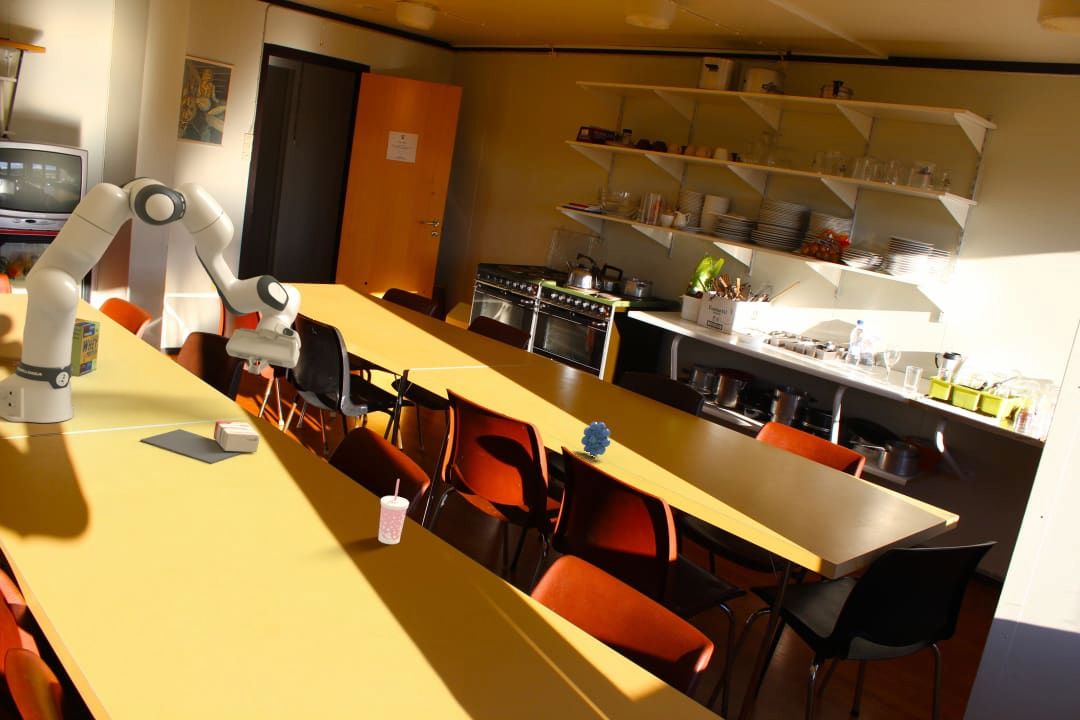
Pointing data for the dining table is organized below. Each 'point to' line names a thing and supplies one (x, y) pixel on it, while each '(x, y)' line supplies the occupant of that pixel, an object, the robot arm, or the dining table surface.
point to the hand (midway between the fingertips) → (253, 372)
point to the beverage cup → (392, 517)
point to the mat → (191, 446)
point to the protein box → (84, 346)
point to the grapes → (596, 438)
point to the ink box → (236, 436)
